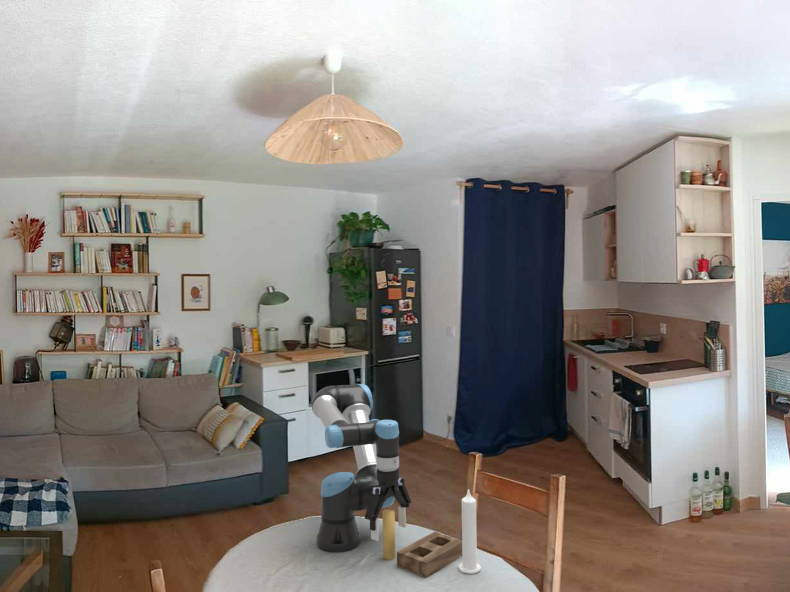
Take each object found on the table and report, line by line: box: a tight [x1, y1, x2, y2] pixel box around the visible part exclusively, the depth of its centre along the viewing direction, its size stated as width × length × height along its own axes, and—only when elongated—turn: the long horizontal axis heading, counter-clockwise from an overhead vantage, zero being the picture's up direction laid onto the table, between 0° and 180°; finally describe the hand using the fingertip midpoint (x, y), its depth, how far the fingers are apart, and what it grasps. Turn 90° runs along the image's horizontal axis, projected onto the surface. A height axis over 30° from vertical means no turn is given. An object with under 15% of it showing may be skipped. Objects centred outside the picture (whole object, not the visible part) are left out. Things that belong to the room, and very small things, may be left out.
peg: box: [381, 508, 396, 561], centre depth 189 cm, size 4×4×15 cm
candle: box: [457, 489, 482, 575], centre depth 180 cm, size 7×7×25 cm
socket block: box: [396, 531, 462, 579], centre depth 186 cm, size 12×20×4 cm, turn 139°
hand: (389, 532), depth 188 cm, fingers open, 13 cm apart
